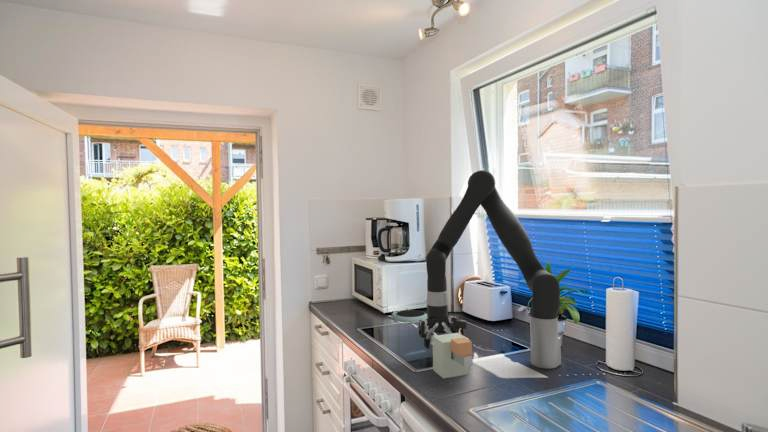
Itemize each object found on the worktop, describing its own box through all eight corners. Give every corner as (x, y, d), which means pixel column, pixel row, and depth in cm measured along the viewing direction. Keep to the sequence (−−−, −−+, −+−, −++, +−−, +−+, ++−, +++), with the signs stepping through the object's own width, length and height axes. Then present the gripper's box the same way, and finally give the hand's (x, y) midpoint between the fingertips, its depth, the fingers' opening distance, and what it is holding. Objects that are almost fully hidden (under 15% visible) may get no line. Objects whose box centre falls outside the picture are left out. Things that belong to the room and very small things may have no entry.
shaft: (436, 342, 164) (436, 330, 164) (474, 367, 138) (474, 353, 138) (425, 343, 163) (425, 332, 163) (462, 369, 136) (462, 355, 136)
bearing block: (458, 366, 154) (457, 332, 154) (469, 374, 146) (469, 339, 146) (433, 370, 151) (432, 336, 151) (443, 378, 143) (442, 342, 143)
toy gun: (456, 330, 191) (468, 318, 203) (415, 322, 201) (428, 312, 214) (457, 340, 191) (468, 328, 204) (415, 332, 202) (428, 321, 215)
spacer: (464, 349, 144) (464, 337, 144) (472, 354, 140) (471, 341, 140) (451, 351, 143) (450, 339, 143) (458, 356, 138) (458, 343, 138)
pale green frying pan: (409, 303, 240) (434, 313, 218) (409, 310, 240) (434, 320, 218) (381, 307, 232) (403, 317, 210) (381, 314, 233) (404, 325, 210)
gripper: (423, 307, 152) (424, 352, 152) (459, 303, 156) (460, 347, 157) (415, 302, 159) (416, 346, 159) (449, 299, 163) (450, 341, 164)
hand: (438, 346), depth 158 cm, fingers open, 8 cm apart
